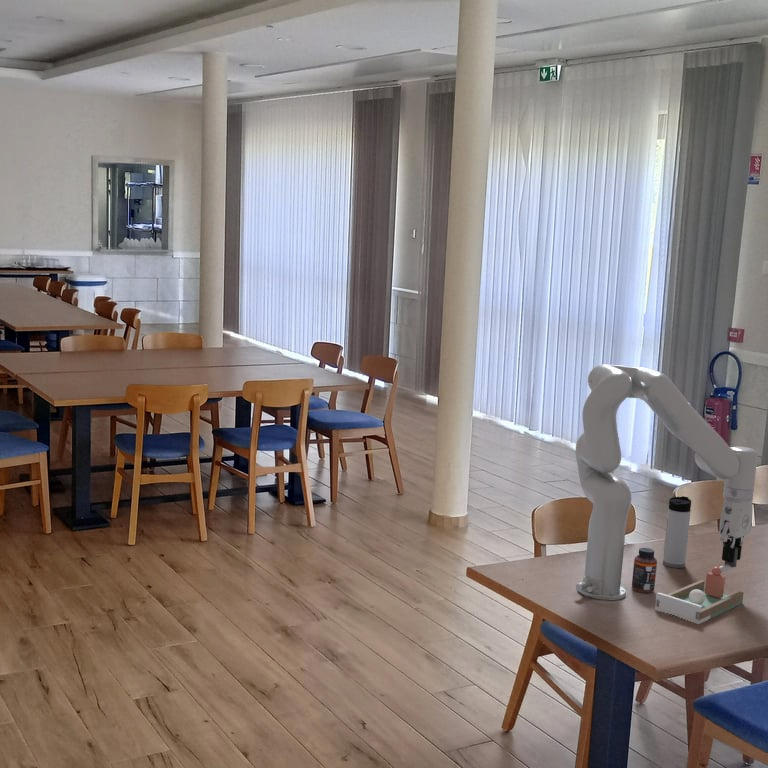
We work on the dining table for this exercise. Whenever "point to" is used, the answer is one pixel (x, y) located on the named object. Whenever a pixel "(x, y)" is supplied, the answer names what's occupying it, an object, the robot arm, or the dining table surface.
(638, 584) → the supplement bottle
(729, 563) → the kicker rod
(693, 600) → the ball
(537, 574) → the dining table surface
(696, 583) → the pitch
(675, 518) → the travel mug
